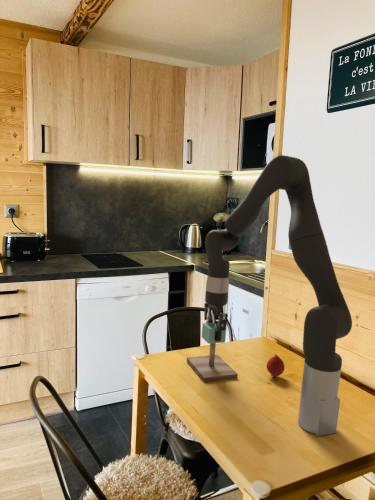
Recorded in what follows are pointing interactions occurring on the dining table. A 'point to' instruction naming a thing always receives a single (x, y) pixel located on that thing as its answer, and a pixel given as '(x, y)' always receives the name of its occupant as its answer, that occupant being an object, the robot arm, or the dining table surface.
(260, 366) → the dining table surface
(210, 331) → the bead
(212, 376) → the stand
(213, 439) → the dining table surface
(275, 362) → the onion
